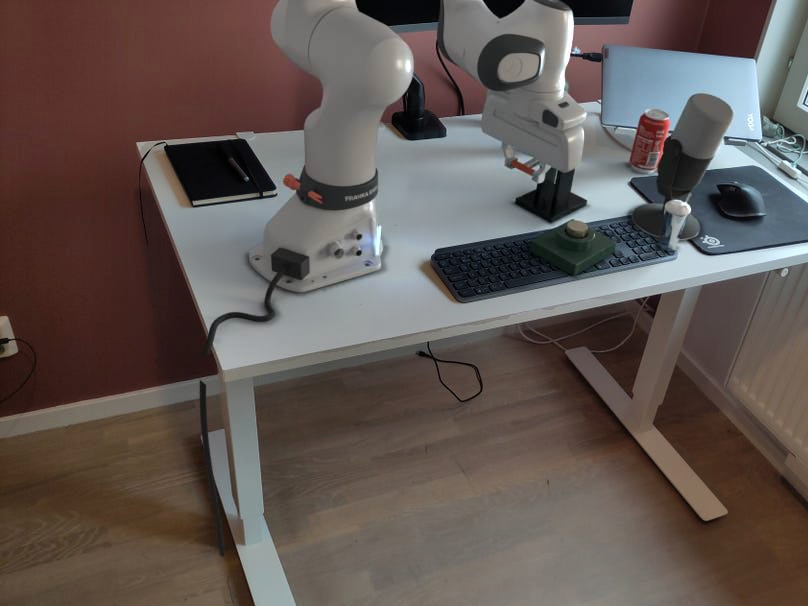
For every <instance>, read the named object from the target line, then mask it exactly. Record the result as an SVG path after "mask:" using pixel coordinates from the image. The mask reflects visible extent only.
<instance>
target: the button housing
mask: <svg viewBox="0 0 808 606" xmlns="http://www.w3.org/2000/svg"><path fill="white" fill-rule="evenodd" d="M572 220H575V219H574V218H572V219H570V220H568V221H566V222H564V223H562V224H560V225H557V226H556V227H554V228H552V229H550V230H548V231H546V232H544V233H542V234H540V235H538V236H537V237H535V238H532V239H531V240H530V244H529V250H528V251H529V252H530V253H532V254H533V255H536V256H538V257H539V258H542V260H545V261H546V262H549V263H550V264H551V265H554V267H557V268H558V269H560V270H562V271H564V272H566V273H567V274H569V275H571V276H573V277H575V276H577V275H578V274H580V273H582V272H584V271H585V270H587V269H588V268H590V267H592V266H594V265H595V264H597V263H599V262H601V261H603V260H604V259H606V258H607V257H609V256H611V255H613V254H614V253H615V251H616V247H617V241H616V240H614V239H612V238H609V237H608V236H606V235H604V234H602V233H600V232H599V231H597V230H595V229H593V228H591V227H589V226H588V229H587V234H586V237H585V238H584V239H576V238H571V237H570V236H568V235H566V228H567V223H568V222H569V221H572Z"/></svg>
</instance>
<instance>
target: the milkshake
mask: <svg viewBox="0 0 808 606" xmlns="http://www.w3.org/2000/svg"><path fill="white" fill-rule="evenodd" d="M691 197H692V193H691V192H690V193H689V194H688V195H687V196H686V199H685V201H682V200H681V199H680V200H671V201H669V202H667V203H666V204H665V209H664V215H663V221H662V226H661V231H660V236H659V238H658V242H657V247H658V248H659V249H660V250H661V251H665V252H673V251H676V249H677V246H678V244H679V242H680V241H679V238H680V236H681V233H682V231H683V228H684V226H685V223H686V221H687V219H688V216H689V214H691V212H692V211H691V210H692V209H691V206H690V204H688V202H689V201H690V198H691Z"/></svg>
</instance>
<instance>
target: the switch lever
mask: <svg viewBox="0 0 808 606" xmlns="http://www.w3.org/2000/svg"><path fill="white" fill-rule="evenodd" d="M511 166H513V167H515V168H514V169H517V170H519V171H520V172H522V173H525V174H526V175H529V176H530V177H531V178H532V177H533V176H532V174H533V172H534V171H537V169H534V168H535V167H537V166H539V160H537V159H535V158H533V157H532V158H530V159H529V160H528V161H526V162H524V163H522V162H520V161H516V160H513V161H512V162H511Z"/></svg>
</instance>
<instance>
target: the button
mask: <svg viewBox="0 0 808 606" xmlns="http://www.w3.org/2000/svg"><path fill="white" fill-rule="evenodd" d="M571 220H572V219H571ZM568 221H569V222H568ZM568 221H567V222H568V223H567V228H566V235H568V236H570V237H571V238H576V239H584V238H585V237H586V234H587V229H588V227H589V226H588V224H587V223H586V222H584V221H582V220H576V219H574V220H572V221H570V220H568Z"/></svg>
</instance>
